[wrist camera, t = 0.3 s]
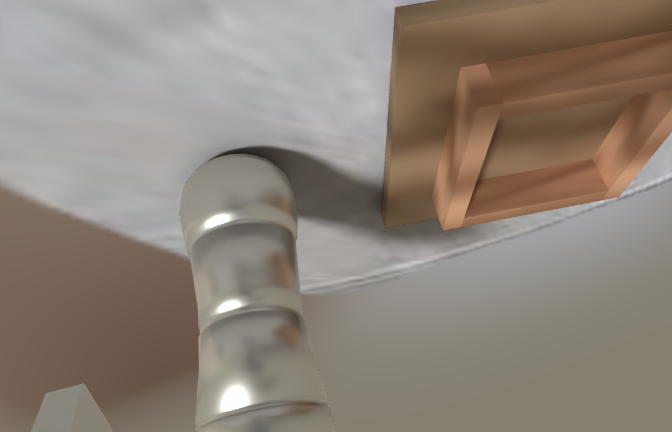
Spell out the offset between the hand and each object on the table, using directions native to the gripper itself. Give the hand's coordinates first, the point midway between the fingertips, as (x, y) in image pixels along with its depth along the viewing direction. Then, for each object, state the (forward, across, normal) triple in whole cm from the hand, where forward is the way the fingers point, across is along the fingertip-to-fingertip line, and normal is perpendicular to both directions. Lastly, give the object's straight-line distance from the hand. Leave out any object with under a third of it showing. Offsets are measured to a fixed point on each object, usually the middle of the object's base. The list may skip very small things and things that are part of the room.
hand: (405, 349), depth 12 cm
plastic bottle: (+21, -5, -4) cm, 22 cm away
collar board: (+20, +13, -4) cm, 24 cm away
